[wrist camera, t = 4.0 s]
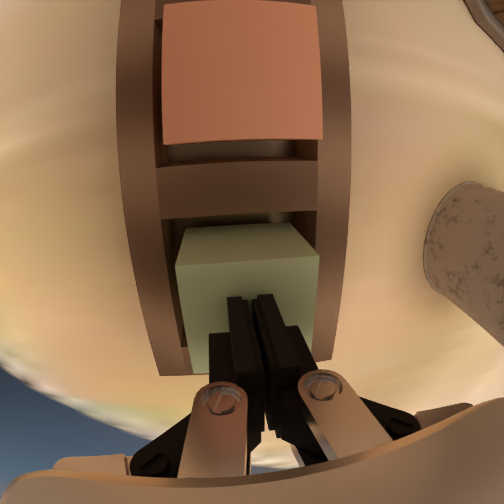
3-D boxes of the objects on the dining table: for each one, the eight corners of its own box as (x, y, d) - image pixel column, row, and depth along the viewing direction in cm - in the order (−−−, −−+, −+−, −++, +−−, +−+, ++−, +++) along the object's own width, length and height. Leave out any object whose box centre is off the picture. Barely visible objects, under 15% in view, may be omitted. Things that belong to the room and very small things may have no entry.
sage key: (185, 228, 14) (174, 266, 10) (288, 221, 14) (319, 255, 10) (196, 316, 16) (193, 373, 11) (286, 309, 16) (309, 362, 12)
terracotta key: (178, 44, 11) (163, 4, 6) (285, 42, 11) (315, 6, 7) (179, 144, 12) (163, 144, 8) (288, 140, 13) (322, 139, 9)
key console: (153, -76, 8) (145, -104, 5) (304, -76, 9) (319, -103, 6) (166, 339, 18) (159, 375, 15) (314, 326, 19) (331, 359, 16)
